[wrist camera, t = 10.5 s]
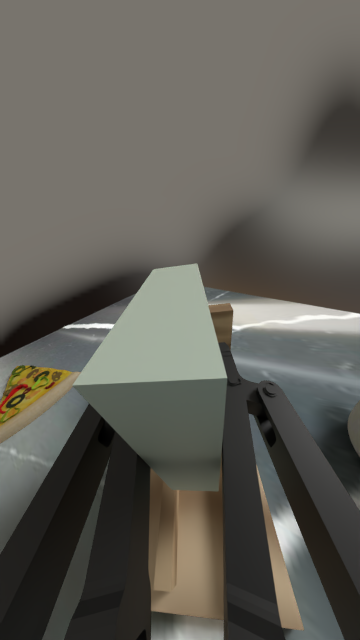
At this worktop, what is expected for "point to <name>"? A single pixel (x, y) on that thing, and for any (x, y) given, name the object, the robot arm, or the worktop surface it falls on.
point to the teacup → (355, 427)
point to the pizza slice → (31, 396)
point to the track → (202, 540)
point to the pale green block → (164, 380)
